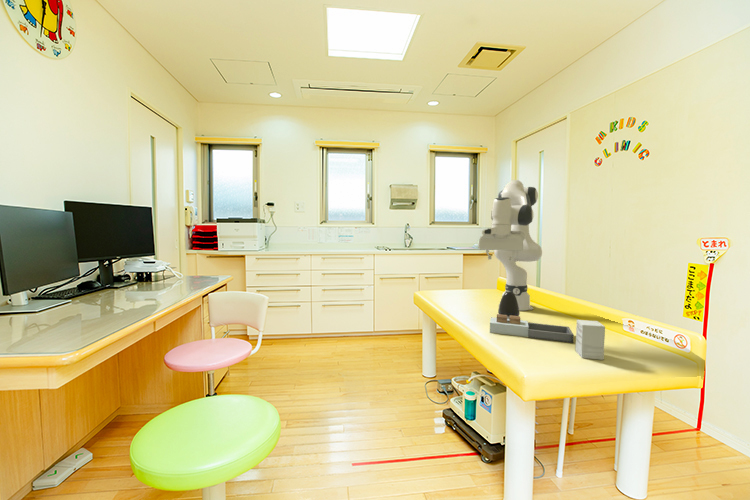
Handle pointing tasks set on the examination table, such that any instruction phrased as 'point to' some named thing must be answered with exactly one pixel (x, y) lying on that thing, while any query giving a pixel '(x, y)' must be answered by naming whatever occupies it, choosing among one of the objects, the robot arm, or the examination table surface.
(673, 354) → the examination table surface
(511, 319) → the tile
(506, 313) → the pump dispenser
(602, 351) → the supplement box
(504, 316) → the tile
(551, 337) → the tray
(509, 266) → the robot arm
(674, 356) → the examination table surface
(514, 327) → the pale grey flat block
